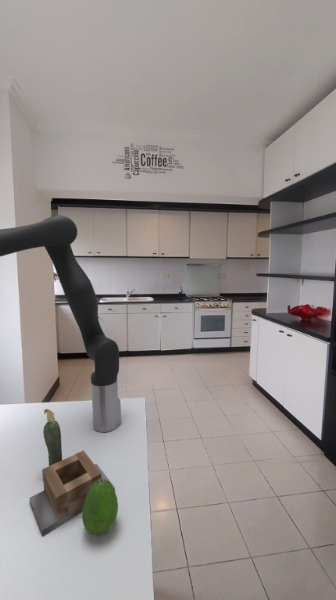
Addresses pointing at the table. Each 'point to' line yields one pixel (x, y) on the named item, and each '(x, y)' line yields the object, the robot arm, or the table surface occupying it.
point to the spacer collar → (64, 491)
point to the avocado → (100, 507)
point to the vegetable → (52, 438)
